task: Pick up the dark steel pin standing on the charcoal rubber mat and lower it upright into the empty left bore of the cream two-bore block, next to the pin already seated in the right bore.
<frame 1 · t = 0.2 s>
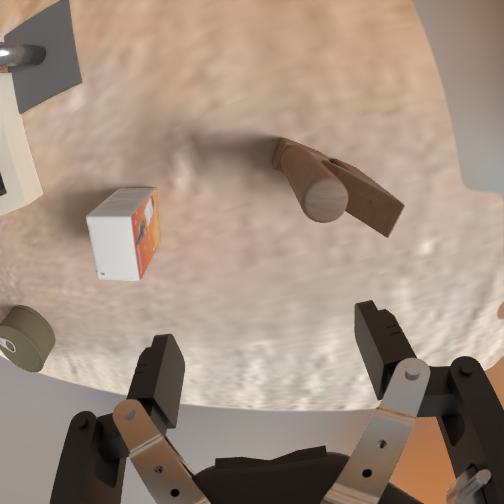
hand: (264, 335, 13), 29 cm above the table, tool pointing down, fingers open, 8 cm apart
small box: (140, 214, 41), on the table
can: (32, 327, 51), on the table
seated pin: (10, 174, 37), resting in bore block
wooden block: (315, 164, 39), on the table
bore block: (2, 145, 35), on the table
steel pin: (38, 55, 29), resting on mat
mat: (39, 55, 29), on the table
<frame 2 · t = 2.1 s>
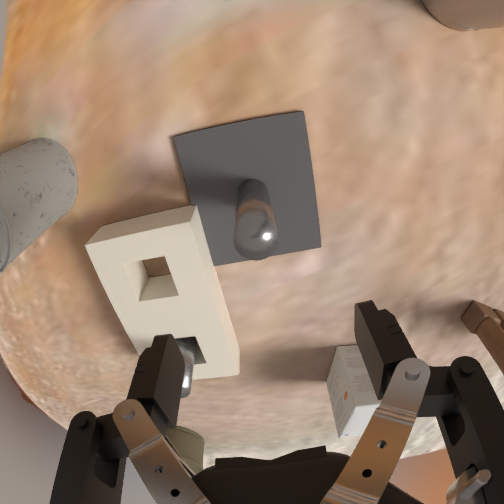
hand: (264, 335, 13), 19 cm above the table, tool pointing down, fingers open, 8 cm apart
small box: (348, 362, 43), on the table
can: (174, 437, 53), on the table
seated pin: (187, 326, 38), resting in bore block
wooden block: (483, 314, 40), on the table
bore block: (174, 294, 36), on the table
steel pin: (252, 194, 30), resting on mat
grey concrete cylinder: (44, 179, 29), on the table
mat: (252, 192, 30), on the table
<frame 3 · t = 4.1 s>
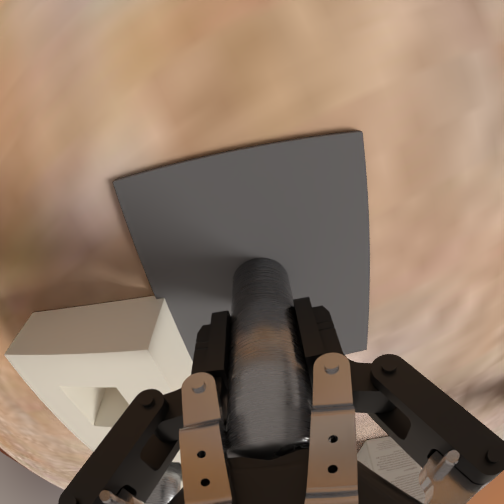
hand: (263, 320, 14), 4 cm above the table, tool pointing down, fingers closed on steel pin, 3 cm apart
small box: (376, 449, 29), on the table
seated pin: (170, 430, 25), resting in bore block
bore block: (147, 400, 23), on the table
steel pin: (260, 282, 17), resting on mat, touching gripper
mat: (260, 278, 17), on the table
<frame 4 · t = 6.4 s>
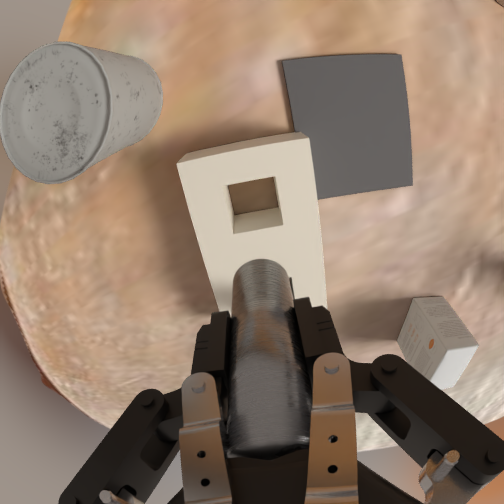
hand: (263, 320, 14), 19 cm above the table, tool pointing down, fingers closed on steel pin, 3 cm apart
small box: (419, 317, 40), on the table
bore block: (261, 235, 33), on the table
steel pin: (261, 283, 17), point 16 cm above the table, touching gripper
grey concrete cylinder: (117, 101, 26), on the table
mat: (354, 124, 28), on the table
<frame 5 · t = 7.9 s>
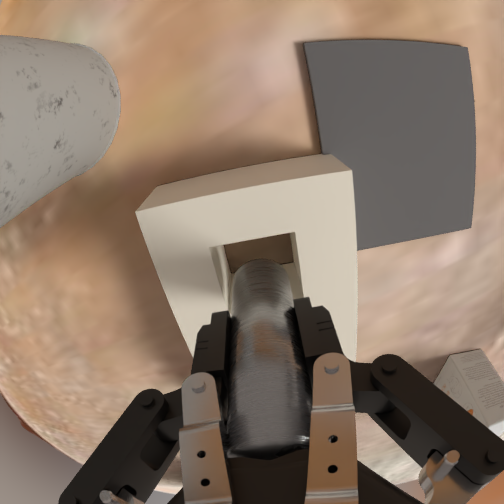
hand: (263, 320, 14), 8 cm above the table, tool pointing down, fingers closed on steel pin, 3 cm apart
small box: (452, 372, 30), on the table
bore block: (268, 298, 24), on the table
steel pin: (261, 283, 17), point 5 cm above the table, touching gripper
grey concrete cylinder: (60, 111, 17), on the table
mat: (406, 144, 18), on the table
when the fingers open (5 cm above the table, at t = 8.7 s): steel pin drops 2 cm, resting in bore block.
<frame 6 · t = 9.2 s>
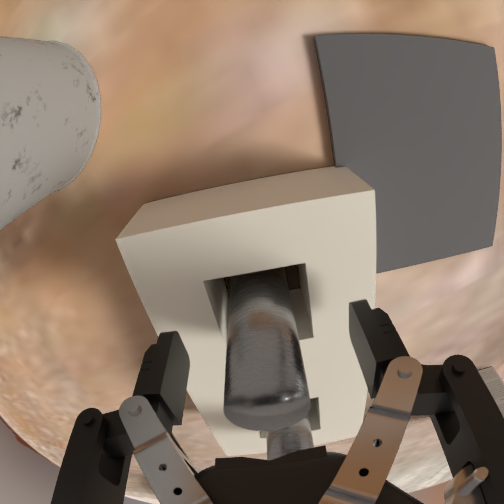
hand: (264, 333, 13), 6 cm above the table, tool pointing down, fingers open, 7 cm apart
small box: (462, 390, 28), on the table
seated pin: (281, 372, 23), resting in bore block
bore block: (271, 326, 21), on the table
steel pin: (257, 264, 19), resting in bore block
grey concrete cylinder: (35, 118, 14), on the table
mat: (429, 154, 16), on the table
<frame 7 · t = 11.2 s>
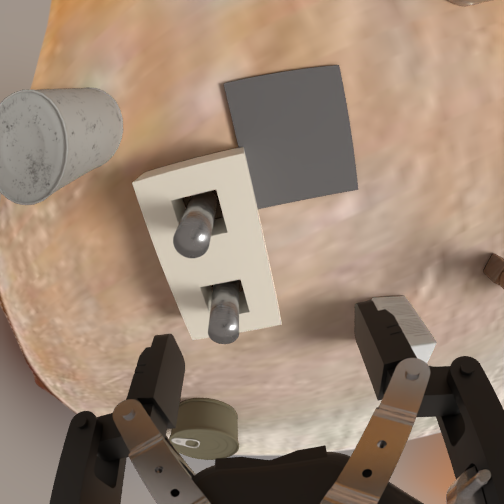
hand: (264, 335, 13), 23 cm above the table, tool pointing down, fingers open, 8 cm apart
small box: (381, 316, 43), on the table
can: (206, 414, 53), on the table
seated pin: (226, 278, 39), resting in bore block
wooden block: (502, 269, 41), on the table
bore block: (215, 242, 37), on the table
steel pin: (203, 202, 34), resting in bore block
grey concrete cylinder: (86, 128, 30), on the table
mat: (295, 136, 31), on the table
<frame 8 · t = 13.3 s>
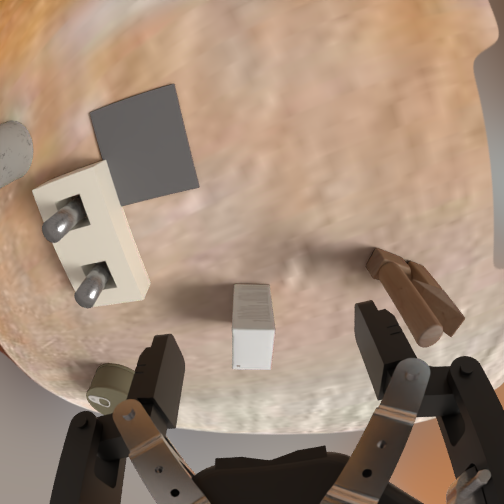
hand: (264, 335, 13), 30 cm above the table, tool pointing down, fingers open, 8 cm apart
small box: (251, 303, 50), on the table
can: (121, 380, 60), on the table
seated pin: (109, 261, 46), resting in bore block
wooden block: (395, 265, 48), on the table
bore block: (97, 232, 43), on the table
steel pin: (85, 202, 41), resting in bore block
grey concrete cylinder: (12, 150, 36), on the table
mat: (143, 147, 38), on the table
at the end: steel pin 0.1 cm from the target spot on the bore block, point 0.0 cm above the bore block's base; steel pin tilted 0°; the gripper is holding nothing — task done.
